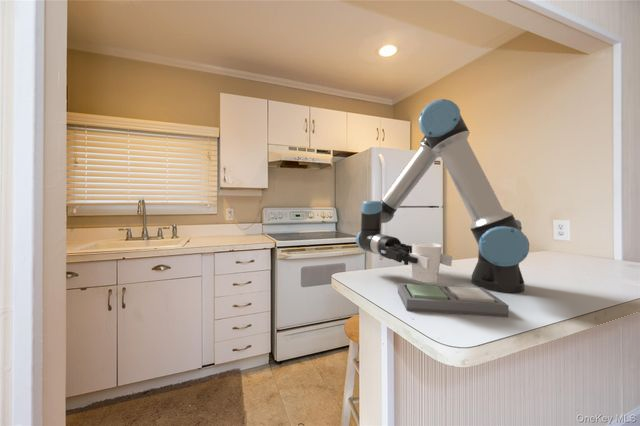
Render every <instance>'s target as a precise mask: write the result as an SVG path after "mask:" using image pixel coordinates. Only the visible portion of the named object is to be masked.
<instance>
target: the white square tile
mask: <svg viewBox="0 0 640 426" xmlns="http://www.w3.org/2000/svg"><path fill="white" fill-rule="evenodd" d="M446 286H447V290H448V291H449V292H450V293H451V294H452V295H453V296H454V297H455V298H456V299H457V300H462V301H480V302H494V301H495V299H493V298H492V297H490V296H489V295H488V294H486V293H485V292H483V291H482V290H481V289H479V288H471V287H472V286H465V287H451V286H452V285H446Z"/></svg>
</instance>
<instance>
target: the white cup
mask: <svg viewBox="0 0 640 426" xmlns="http://www.w3.org/2000/svg"><path fill="white" fill-rule="evenodd" d="M411 246H412V253H413V254H416V255H420V256H423V257H426V258H430V260H429V269H426V268H423V267H420V266H417V265H414V264H411V268H412V270H411V271H412V272H411V277H412V279H413V280H416V281H418V282H424V283H436V282H437V281H438V279H439V271H440V265H441V263H440V258H441V254H442V249H443V246H442V244H440V243H434V242H429V241H427V242H426V241H414V242H411Z"/></svg>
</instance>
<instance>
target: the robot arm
mask: <svg viewBox="0 0 640 426" xmlns="http://www.w3.org/2000/svg"><path fill="white" fill-rule="evenodd" d="M418 127H419V130H420V131H421V132H422V134H423V135H424V136H423V137H422V139H421V141H420V142H419V148H418V149H417V150H416V152H415V154H414V155H413V156H412V158H411V159H410V160H409V162H408V163H407V164H406V166H405V167H404V168H403V170H401V172H400V174H399V175H398V176H397V177H396V179H395V180H394V182H393V183H392V185H391V186H389V187H390V188H389V189H388V190H387V191H386V193H385V194H384V196H383V197H382V199H381V200H363V201H362V203H361V210H360V212H361V215H360V216H361V226H360V227H361V228H360V231H359V232H358V233H357V235H356V237H355V244H356V245H357V246H358V248H360V249H362V250H364V251H366V252H369V253H372V254H375V255H378V256H379V257H380V258H382V257H383V258H385V259H388V260H393V261H395V262H398V263H402V262H403V265H405V266H409V264H411V265H412V264H414V265H417V266H420V267H423V268H426V269H429V260H430V258H426V257H423V256H420V255H416V254H413V253H412V245H409V244H408V245H407V244H405V243H402V242H401V240H400V239H399V238H397V237H395V236H392V235H387V234H383V233H382V224H387V223H388V222H390V221H391V220H392V219H393V218H394V217H395V213H396V212H397V210H398V209H399V207H400V206H401V205H402V204H403V203H404V201H405V199H407V197H408V195H410V193H411V192H412V191H413V190H414V188H415V187H416V186H417V185H418V183H419V182H420V180H422V178H423V177H424V176H425V174H426V173H427V171H429V169H430V168H431V166H432V165H433V164H434V162H435V161H436V160H437V159H438V158H441V160H442V161H443V163H444V166H445V168H446V170H447V173H448V174H449V175H450V176H449V177H450V178H451V181H452V182H453V184H454V187H456V190H457V192H458V195H459V196H460V198H461V200H462V202H463V205H464V206H465V208H466V211H467V213H468V215H469V216H470V218H471V220H472V222H471V223H470V226H469V228H470V231H471V233H472V235H473V237H474V239H475V241H476V243H477V245H478V253H477V254H478V255H477V263H476V264H475V267H474V269H473V271H472V274H471V278H470V279H471V281H470V282H471V283H472V284H473V285H475V286H476V287H483V288H484V289H485V290H490V291H495V292H501V293H508V294H509V293H511V294H512V293H522V292H524V291H525V281H524V278H523V275H522V271H521V269H520V263H522V262H523V261H524V260H525V259H526V258H527V257H528V255H529V253H530V241H529V239H528V237H527V235H526V234H524V232H523V231H522V229H523V227H522V223H521V221H520V220H519V219H516V218H515V216H514V214H513V213H512V212H510V211H506V210H504V208H503V206H502V205H501V203H500V200H499V199H498V197H497V194H496V193H495V191H494V189H493V187H492V186H491V183H490V181H489V179H488V178H487V175H486V174H485V171H484V170H483V168H482V166H481V164H480V162H479V160H478V159H477V156H476V155H475V152H474V151H473V148H472V147H471V145H470V143H469V141H468V138H469V136H470V130H469V129H468V126H467V125H466V122H465V120H464V119H463V116H462V115H461V109H460V108H459V106H458V104H456V103H455V102H454V101H453V100H450V99H445V98H440V99H436V100H433V101H431V102H430V103H428V104H427V105H426V106H425V107H424V108H423V109H422V111H421V113H420V115H419V117H418ZM452 261H453V256H452V255H448V254H445V253H441V258H440V265H444V266H448V267H452V263H453V262H452Z"/></svg>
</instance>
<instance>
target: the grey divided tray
mask: <svg viewBox="0 0 640 426" xmlns="http://www.w3.org/2000/svg"><path fill="white" fill-rule="evenodd" d="M407 284H408V283H404V282H402V283H400V282H399V283H397V293H398V295H399V297H400V300H401V302H402V304H403V306H404V308H405V310H406V311H408V312H409V311H410V312H425V313H442V314H456V315H472V316H473V315H475V316H487V317H488V316H489V317H490V316H491V317H503V318H504V317H505V318H507V317H509V304H507V303H506V302H505V301H503V300H502V299H500V298H499V297H497V296H496V295H494V294H493V293H491V292H490V291H488V289H486V288H483V287H479V286H470V287H471V288H479V289H481V290H482V291H483V292H485V293H486V294H488V295H489V296H490V297H492V298H493V299H495V301H494V302H480V301H462V300H457V299H456V298H455V297H454V296H453V295H452V294H451V293H450V292H449V291H448V290H447V286H448V285H443V284H441V285H440V284H430V285H431V286H438V287H439V288H440V289H441V290H442V291H443V293H444V294H445V295H446V296H447V297H448V300H445V299H427V298H413V297H412V295H411V294H410V292H409V290H408V289H407ZM411 284H412V285H426V284H421V283H411ZM450 286H451V287H466V286H463V285H462V286H461V285H460V286H459V285H450Z"/></svg>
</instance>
